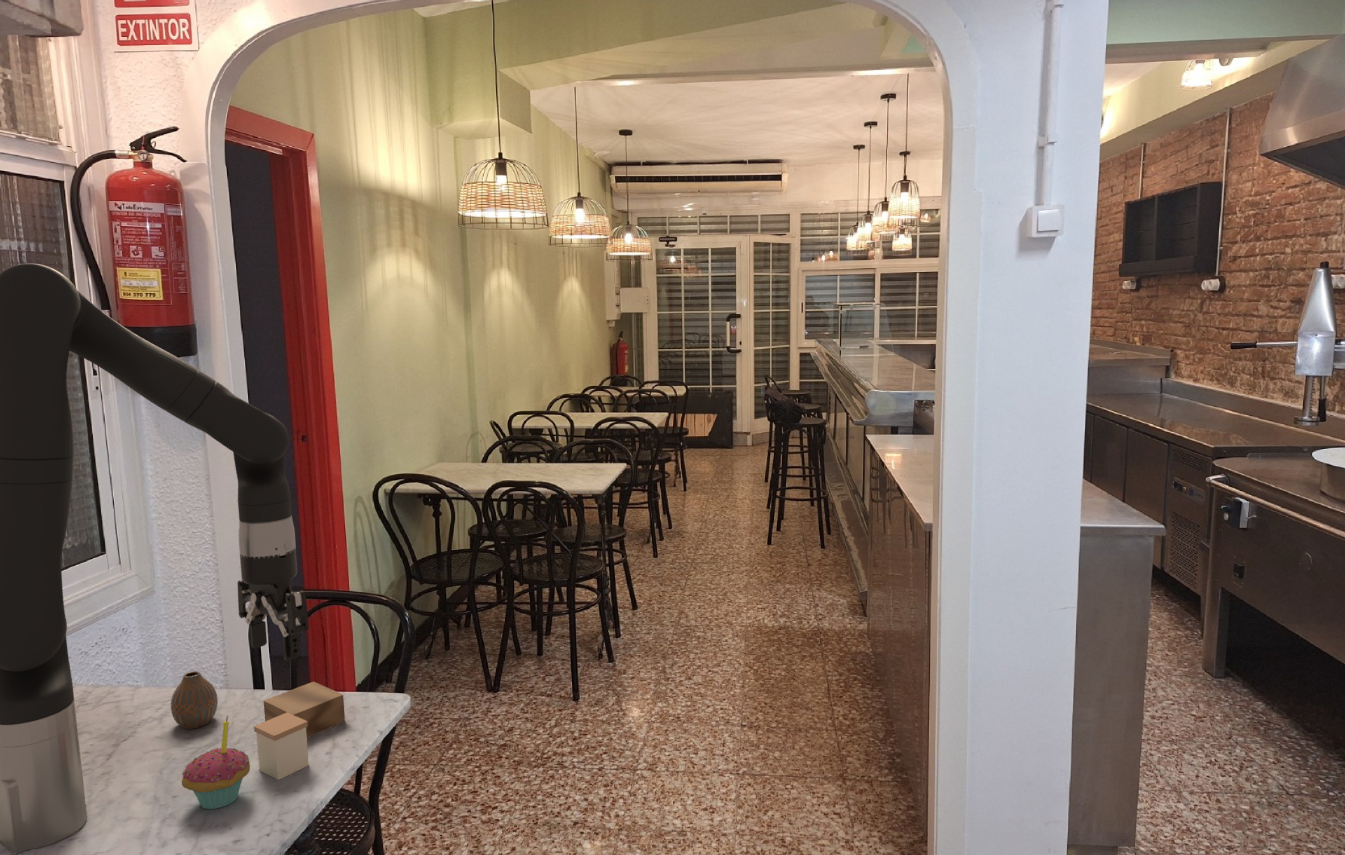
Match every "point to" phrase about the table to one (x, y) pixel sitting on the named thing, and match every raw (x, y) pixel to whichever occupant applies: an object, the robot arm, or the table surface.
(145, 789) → the table surface
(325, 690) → the brown wooden block
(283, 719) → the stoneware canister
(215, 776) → the cupcake
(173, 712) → the vase
